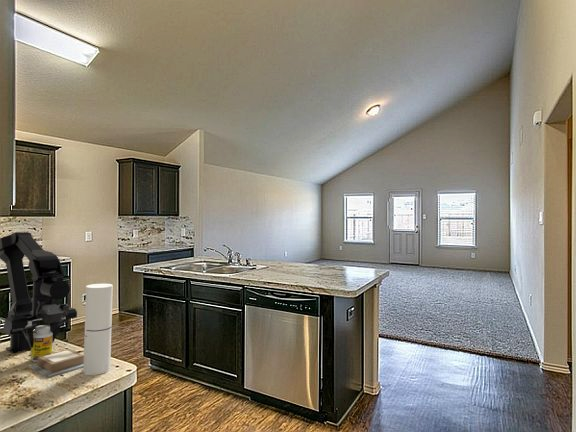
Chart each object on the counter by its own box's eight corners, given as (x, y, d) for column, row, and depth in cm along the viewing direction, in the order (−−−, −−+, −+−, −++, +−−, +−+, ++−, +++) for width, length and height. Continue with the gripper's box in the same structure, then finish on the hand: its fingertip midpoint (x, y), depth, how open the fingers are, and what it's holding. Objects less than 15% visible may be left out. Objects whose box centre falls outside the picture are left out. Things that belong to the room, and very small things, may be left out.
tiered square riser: (29, 367, 113) (29, 357, 113) (70, 356, 123) (71, 346, 123) (48, 378, 106) (49, 366, 106) (91, 364, 116) (91, 354, 116)
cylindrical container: (97, 376, 108) (100, 288, 108) (77, 372, 110) (80, 286, 111) (115, 367, 115) (118, 284, 115) (96, 364, 117) (99, 282, 117)
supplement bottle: (30, 363, 116) (31, 330, 116) (30, 358, 120) (31, 325, 120) (52, 360, 119) (53, 327, 119) (51, 354, 123) (52, 323, 123)
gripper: (21, 304, 107) (19, 359, 107) (86, 294, 123) (85, 342, 123) (4, 298, 114) (2, 350, 114) (69, 289, 129) (67, 335, 129)
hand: (41, 344), depth 120 cm, fingers closed on supplement bottle, 5 cm apart
